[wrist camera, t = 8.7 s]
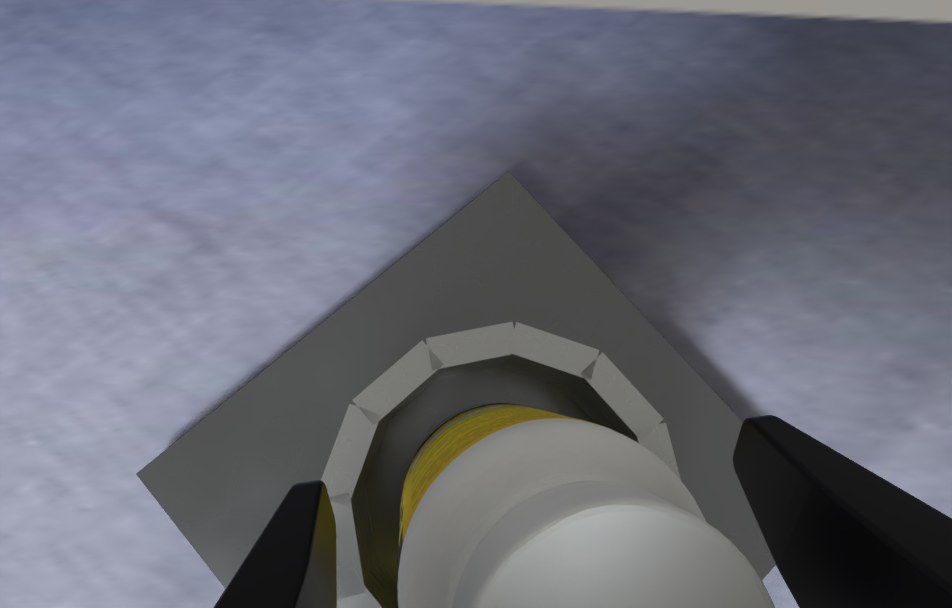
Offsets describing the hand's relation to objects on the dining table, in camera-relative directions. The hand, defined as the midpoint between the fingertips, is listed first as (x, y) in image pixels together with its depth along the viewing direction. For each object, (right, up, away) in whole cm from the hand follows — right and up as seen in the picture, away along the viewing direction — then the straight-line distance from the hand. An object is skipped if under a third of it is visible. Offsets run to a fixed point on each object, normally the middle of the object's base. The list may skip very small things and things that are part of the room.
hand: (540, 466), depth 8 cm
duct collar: (-1, -3, +9) cm, 10 cm away
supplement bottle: (0, -3, +8) cm, 9 cm away
